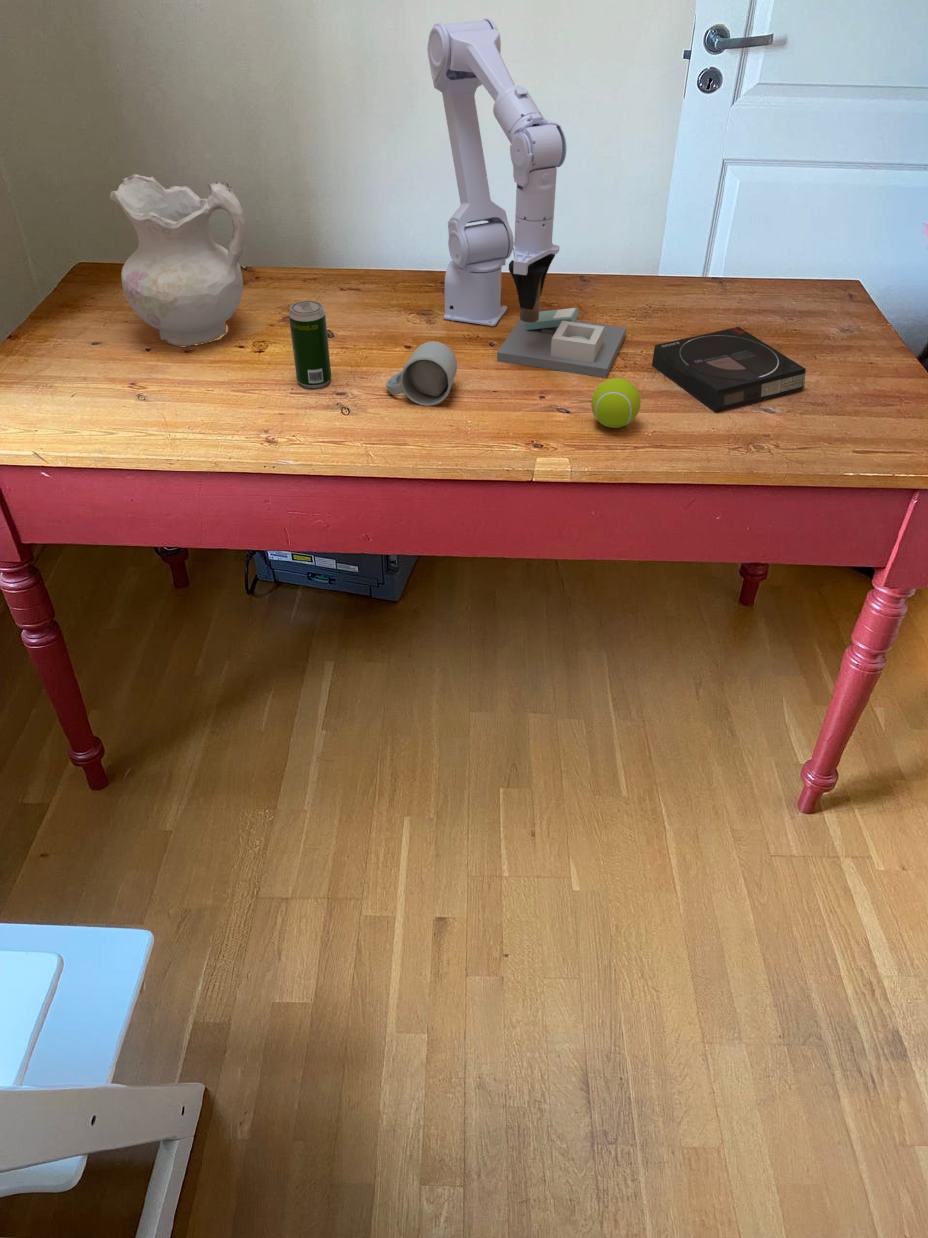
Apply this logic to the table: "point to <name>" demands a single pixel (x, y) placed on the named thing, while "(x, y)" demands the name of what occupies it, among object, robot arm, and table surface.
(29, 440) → the table surface
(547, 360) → the panel
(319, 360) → the beer can
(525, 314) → the dowel
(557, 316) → the block
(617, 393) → the tennis ball
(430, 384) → the ceramic mug
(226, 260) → the ceramic pitcher
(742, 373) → the portable cd player
